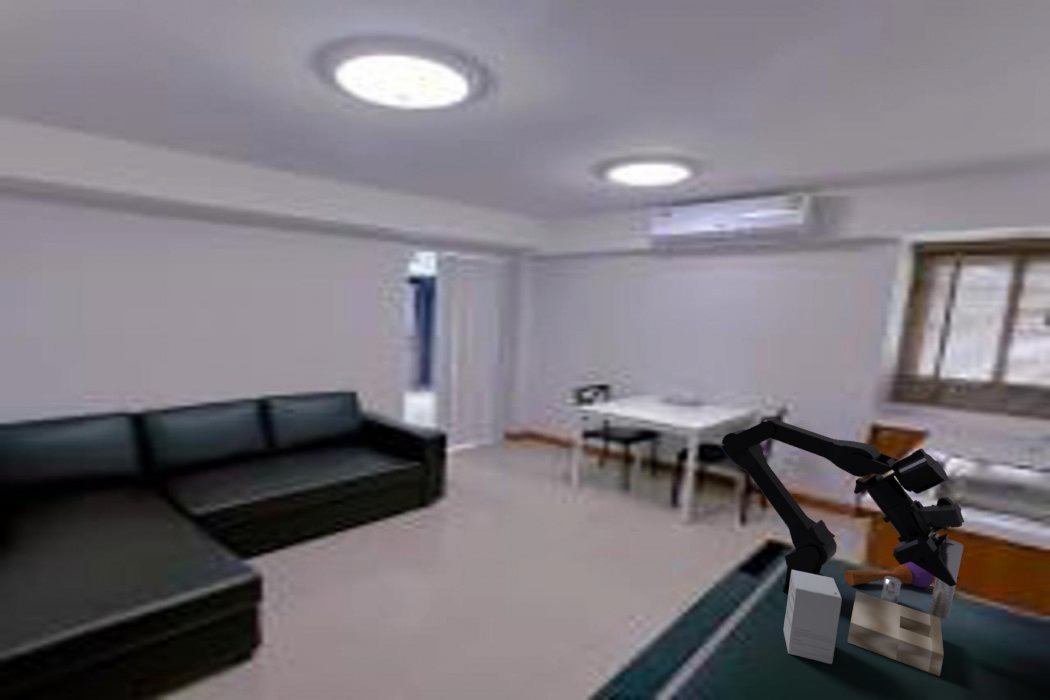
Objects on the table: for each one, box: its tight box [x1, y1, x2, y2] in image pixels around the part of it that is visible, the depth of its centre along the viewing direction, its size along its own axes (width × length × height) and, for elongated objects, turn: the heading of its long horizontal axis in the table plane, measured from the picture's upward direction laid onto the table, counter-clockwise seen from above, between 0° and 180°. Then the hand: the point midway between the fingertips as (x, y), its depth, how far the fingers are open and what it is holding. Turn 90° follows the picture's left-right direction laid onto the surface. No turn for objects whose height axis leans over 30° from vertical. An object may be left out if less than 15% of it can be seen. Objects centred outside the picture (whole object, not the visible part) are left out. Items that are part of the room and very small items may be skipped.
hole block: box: [847, 590, 944, 677], centre depth 106 cm, size 14×14×4 cm
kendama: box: [843, 562, 935, 589], centre depth 128 cm, size 6×6×20 cm
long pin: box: [928, 538, 965, 620], centre depth 104 cm, size 3×3×14 cm
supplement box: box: [782, 570, 843, 665], centre depth 102 cm, size 7×7×13 cm
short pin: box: [880, 576, 902, 605], centre depth 120 cm, size 3×3×5 cm
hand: (955, 582), depth 103 cm, fingers closed on long pin, 3 cm apart
